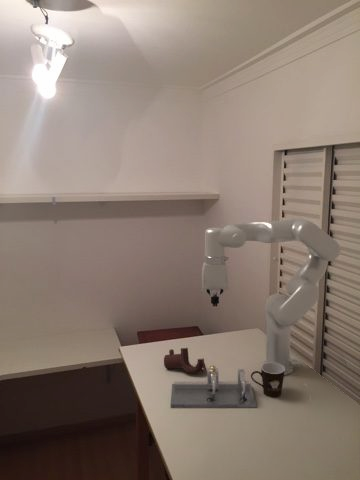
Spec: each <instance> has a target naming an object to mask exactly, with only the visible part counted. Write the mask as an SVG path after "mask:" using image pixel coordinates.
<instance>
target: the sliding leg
mask: <svg viewBox="0 0 360 480" xmlns="http://www.w3.org/2000/svg"><path fill="white" fill-rule="evenodd" d="M206 372H207V373H206V378H207V381H206V382H208V389H213V399H215V389H219V384H218V381H219V368H218V367H217V366H215V365H210V366H209V367H206Z"/></svg>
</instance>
